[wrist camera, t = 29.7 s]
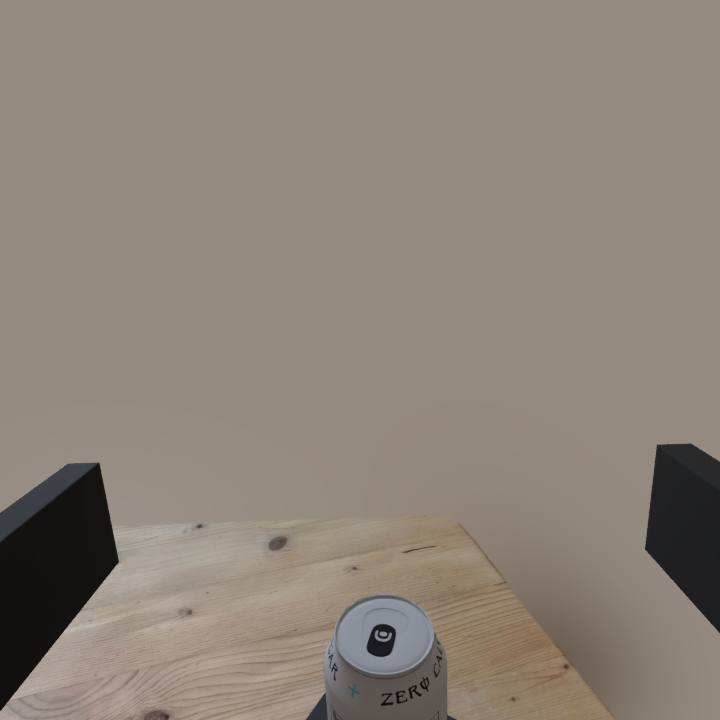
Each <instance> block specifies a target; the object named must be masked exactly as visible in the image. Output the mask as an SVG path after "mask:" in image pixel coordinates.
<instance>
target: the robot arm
mask: <svg viewBox="0 0 720 720" xmlns="http://www.w3.org/2000/svg"><path fill="white" fill-rule="evenodd" d="M645 550H646V551H647V552H648V553H649V554H650V555H651V556H652V557H653V559H654V560H655V561H656V562H657V563H658V564H659V565H660V567H662V568H663V570H664V571H665V572H666V573H667V574H668V575H669V577H670V578H671V579H672V580H673V581H674V582H675V583H676V584H677V585H678V587H679V588H680V589H681V590H682V591H683V592H684V593H685V595H686V596H687V597H688V598H689V599H690V600H691V601H692V602H693V603H694V605H695V606H696V607H697V608H698V609H699V610H700V611H701V612H702V614H703V615H704V616H705V617H706V618H707V619H708V620H709V621H710V622H711V624H712V625H713V626H714V627H715V628H716V629H717V630H718V632H719V633H720V462H719V461H718V460H716V459H714V458H713V457H711V456H710V455H708V454H707V453H705V452H703V451H702V450H700V449H699V448H697V447H695V446H694V445H692V444H667V445H657V449H656V458H655V467H654V476H653V484H652V493H651V502H650V510H649V519H648V528H647V537H646V546H645ZM118 562H119V560H118V555H117V550H116V545H115V540H114V535H113V530H112V525H111V520H110V514H109V510H108V504H107V499H106V494H105V489H104V484H103V480H102V474H101V469H100V464H99V463H74V464H67V465H66V466H64V467H63V468H62V469H60V470H59V471H57V472H56V473H55V474H53V475H52V476H50V477H49V478H48V479H46V480H45V481H44V482H42V483H41V484H40V485H38V486H37V487H35V488H34V489H33V490H31V491H30V492H29V493H27V494H26V495H24V496H23V497H22V498H20V499H19V500H18V501H16V502H15V503H13V504H12V505H11V506H9V507H8V508H6V509H5V510H4V511H2V512H1V513H0V711H1V710H2V708H3V707H4V706H5V705H6V703H7V702H8V701H9V700H10V698H11V697H12V696H13V695H14V693H15V692H16V691H17V690H18V688H19V687H20V686H21V685H22V683H23V682H24V681H25V680H26V678H27V677H28V676H29V674H30V673H31V672H32V671H33V669H34V668H35V667H36V666H37V664H38V663H39V662H40V661H41V659H42V658H43V657H44V656H45V654H46V653H47V652H48V651H49V649H50V648H51V647H52V646H53V644H54V643H55V642H56V640H57V639H58V638H59V637H60V635H61V634H62V633H63V632H64V630H65V629H66V628H67V627H68V625H69V624H70V623H71V622H72V620H73V619H74V618H75V617H76V615H77V614H78V613H79V612H80V610H81V609H82V608H83V606H84V605H85V604H86V603H87V601H88V600H89V599H90V598H91V596H92V595H93V594H94V593H95V591H96V590H97V589H98V588H99V586H100V585H101V584H102V583H103V581H104V580H105V579H106V578H107V576H108V575H109V574H110V573H111V571H112V570H113V569H114V567H115V566H116V565H117V564H118Z"/></svg>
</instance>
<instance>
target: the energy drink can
mask: <svg viewBox="0 0 720 720" xmlns="http://www.w3.org/2000/svg"><path fill="white" fill-rule="evenodd" d="M324 677H325V690H326V702H327V715H328V720H447V659H446V654H445V650H444V648H443V646H442V644H441V642H440V640H439V639H438V637H437V636H436V634H435V633H434V628H433V624H432V622H431V620H430V618H429V616H428V615H427V613H426V612H425V611H424V610H423V609H422V608H421V607H420V606H419V605H418V604H416V603H414V602H413V601H411V600H409V599H406V598H404V597H401V596H397V595H390V594H376V595H371V596H367V597H364V598H361V599H359V600H357V601H355V602H354V603H352V604H351V605H349V606H348V607H347V608H346V609H345V610H344V611H343V612H342V614H341V615H340V617H339V618H338V620H337V622H336V626H335V629H334V636H333V637H332V639H331V641H330V643H329V645H328V647H327V650H326V654H325V657H324Z"/></svg>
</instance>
